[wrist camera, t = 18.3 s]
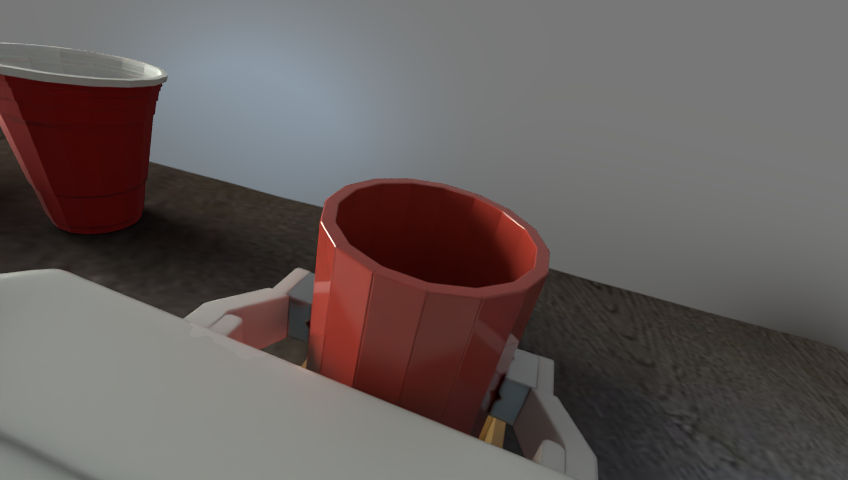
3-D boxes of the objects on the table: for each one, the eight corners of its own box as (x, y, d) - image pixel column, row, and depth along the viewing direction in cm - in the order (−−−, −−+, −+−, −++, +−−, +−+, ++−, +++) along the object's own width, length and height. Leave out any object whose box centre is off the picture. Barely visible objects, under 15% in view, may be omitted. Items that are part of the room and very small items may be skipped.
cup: (263, 485, 15) (271, 236, 10) (346, 361, 20) (377, 162, 15) (438, 566, 14) (544, 333, 9) (475, 412, 19) (553, 216, 14)
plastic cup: (203, 200, 39) (196, 62, 33) (128, 265, 29) (99, 87, 24) (80, 176, 38) (50, 29, 32) (-39, 234, 29) (-111, 42, 23)
